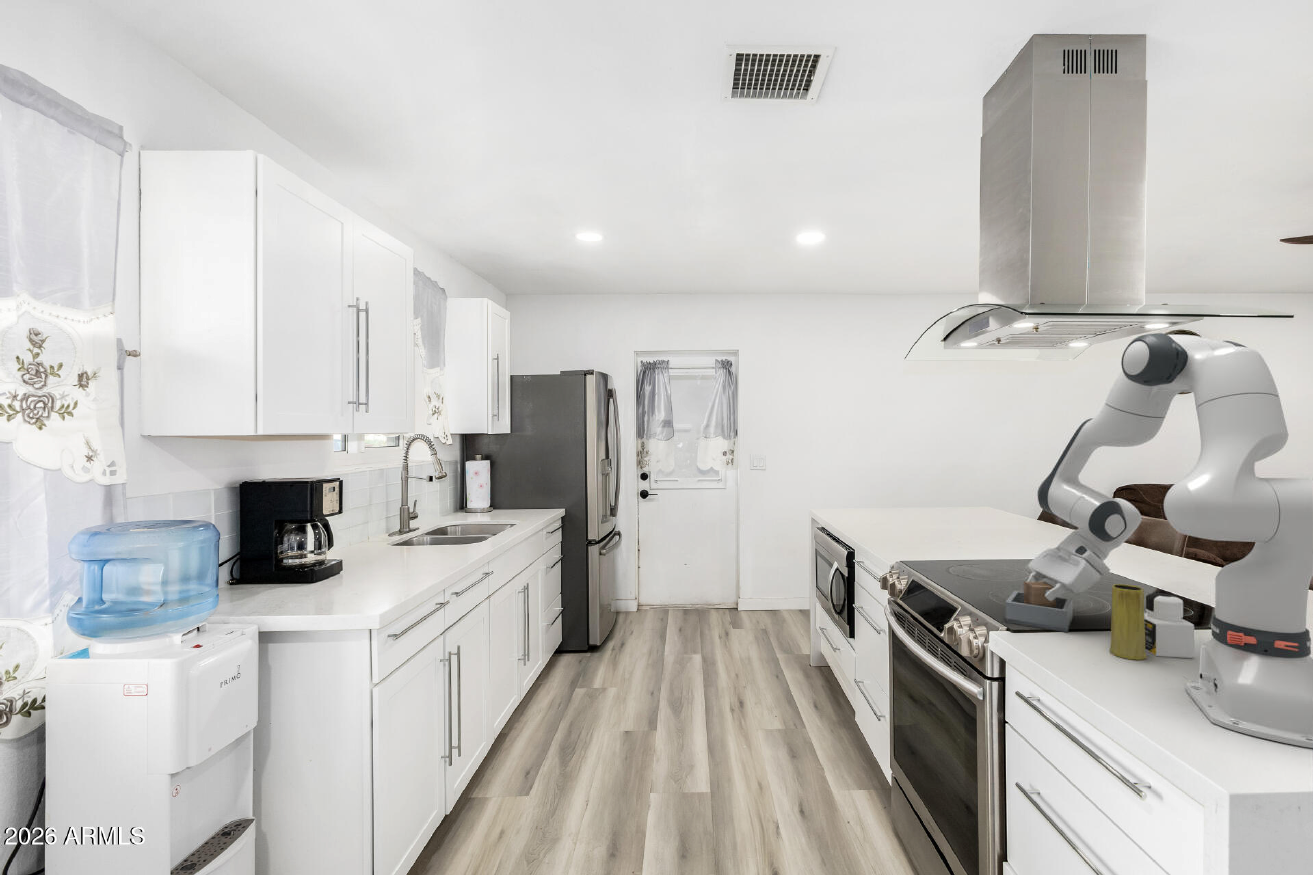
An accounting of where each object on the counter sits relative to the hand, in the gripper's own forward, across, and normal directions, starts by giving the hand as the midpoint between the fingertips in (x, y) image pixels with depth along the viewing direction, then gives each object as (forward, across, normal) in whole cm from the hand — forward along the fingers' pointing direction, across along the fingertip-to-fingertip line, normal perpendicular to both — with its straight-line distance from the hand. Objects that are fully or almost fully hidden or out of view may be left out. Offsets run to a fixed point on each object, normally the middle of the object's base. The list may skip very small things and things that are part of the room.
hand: (1036, 592), depth 149 cm
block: (+4, 0, +5) cm, 6 cm away
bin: (+4, 0, +5) cm, 7 cm away
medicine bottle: (-6, +19, +17) cm, 26 cm away
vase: (0, +22, +10) cm, 24 cm away
